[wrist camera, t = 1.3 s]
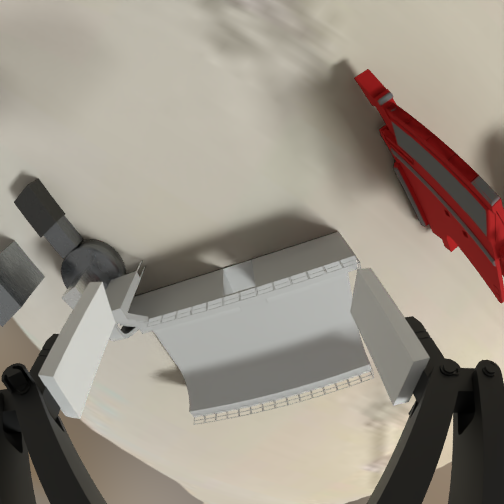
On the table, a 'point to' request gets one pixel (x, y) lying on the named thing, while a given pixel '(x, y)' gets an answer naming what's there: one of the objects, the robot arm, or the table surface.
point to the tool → (442, 187)
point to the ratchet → (69, 244)
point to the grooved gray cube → (16, 280)
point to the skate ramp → (253, 326)
